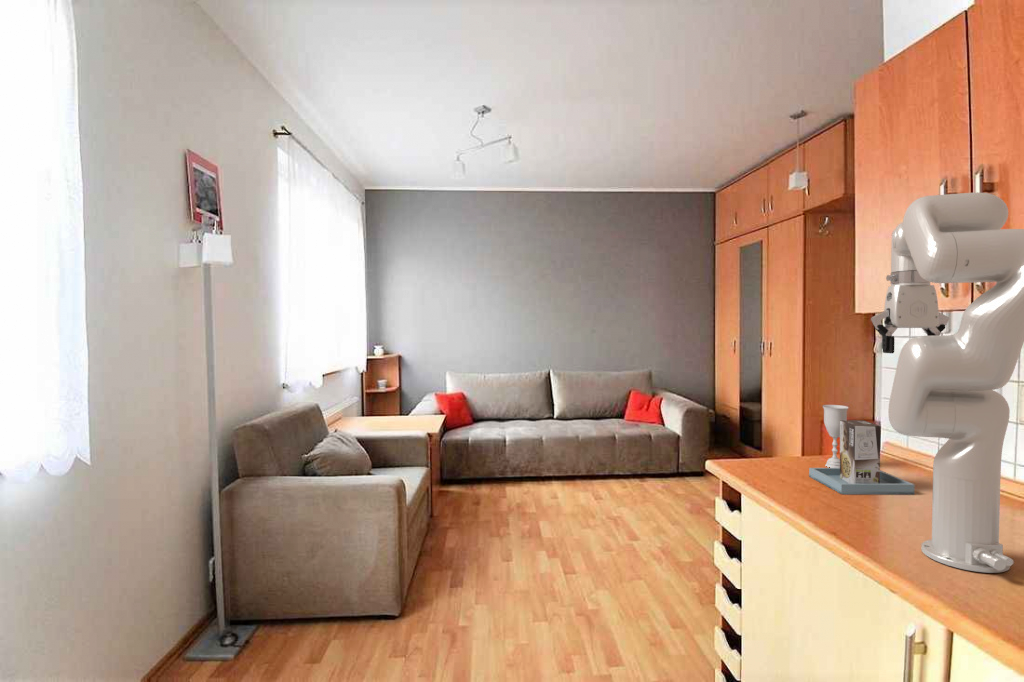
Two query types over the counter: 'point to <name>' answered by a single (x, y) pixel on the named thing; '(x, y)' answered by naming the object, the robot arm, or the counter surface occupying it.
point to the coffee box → (860, 452)
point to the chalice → (834, 428)
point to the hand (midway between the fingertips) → (909, 353)
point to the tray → (886, 486)
